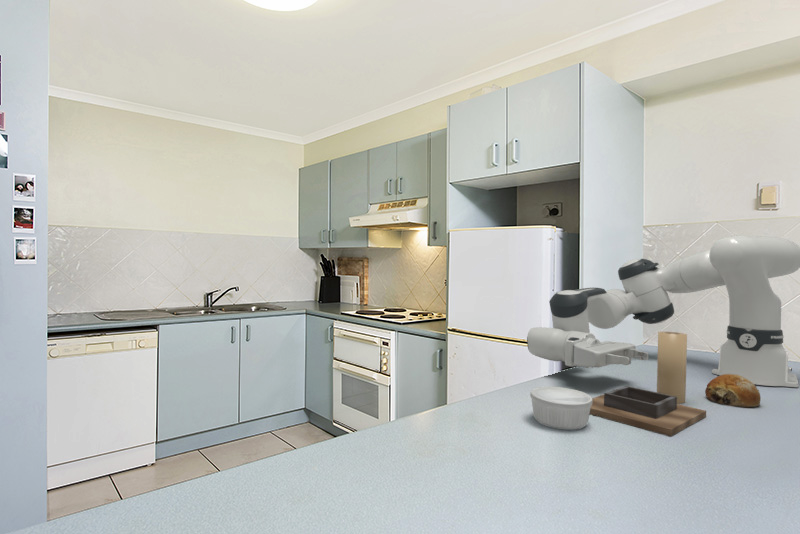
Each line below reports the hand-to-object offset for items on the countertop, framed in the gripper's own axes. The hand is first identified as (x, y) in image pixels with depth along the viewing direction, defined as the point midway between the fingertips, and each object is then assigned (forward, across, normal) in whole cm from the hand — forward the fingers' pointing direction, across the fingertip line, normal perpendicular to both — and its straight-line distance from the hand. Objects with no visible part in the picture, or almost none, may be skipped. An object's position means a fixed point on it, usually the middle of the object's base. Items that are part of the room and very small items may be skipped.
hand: (638, 359), depth 108 cm
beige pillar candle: (+7, 0, -8) cm, 11 cm away
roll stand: (+7, +16, -8) cm, 19 cm away
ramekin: (0, +34, -8) cm, 35 cm away
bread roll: (+16, -11, -8) cm, 21 cm away
